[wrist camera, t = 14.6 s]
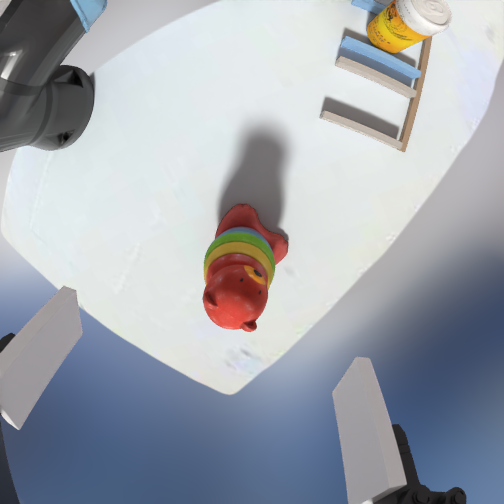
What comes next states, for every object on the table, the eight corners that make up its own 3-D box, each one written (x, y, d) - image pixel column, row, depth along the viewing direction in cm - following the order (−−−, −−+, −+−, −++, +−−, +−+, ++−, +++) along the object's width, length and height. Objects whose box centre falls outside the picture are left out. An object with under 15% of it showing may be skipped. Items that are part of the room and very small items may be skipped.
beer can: (361, 19, 28) (400, -22, 14) (396, 22, 27) (445, -10, 14) (369, 53, 30) (416, 23, 17) (405, 56, 30) (460, 34, 16)
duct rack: (319, 118, 35) (322, 117, 33) (352, -1, 27) (357, -7, 24) (401, 151, 36) (409, 153, 34) (429, 37, 27) (436, 34, 25)
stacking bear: (293, 246, 43) (306, 317, 27) (247, 286, 47) (237, 365, 31) (242, 197, 41) (224, 244, 25) (198, 242, 44) (160, 308, 28)
